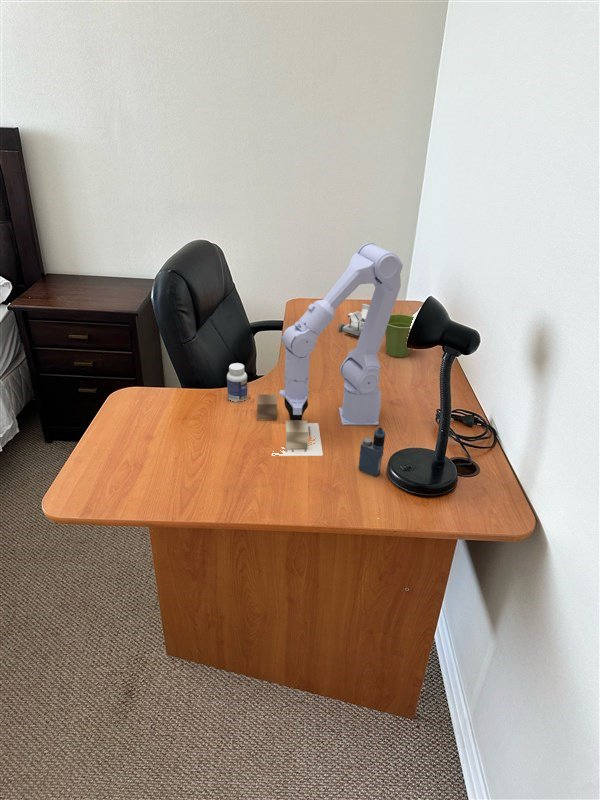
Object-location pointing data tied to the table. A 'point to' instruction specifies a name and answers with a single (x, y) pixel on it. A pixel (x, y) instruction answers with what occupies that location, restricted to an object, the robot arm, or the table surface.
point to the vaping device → (372, 453)
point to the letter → (312, 449)
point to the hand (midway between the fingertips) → (295, 424)
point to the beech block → (296, 434)
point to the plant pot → (398, 335)
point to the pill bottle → (237, 382)
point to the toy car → (355, 321)
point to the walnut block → (266, 406)
